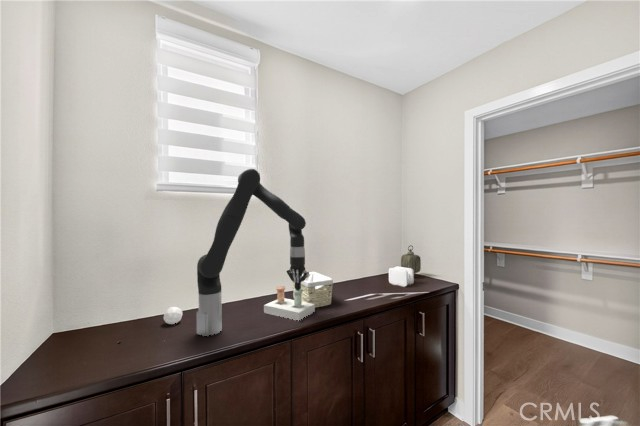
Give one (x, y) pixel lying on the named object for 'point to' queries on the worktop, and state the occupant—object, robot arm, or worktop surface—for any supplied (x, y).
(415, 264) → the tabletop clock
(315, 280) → the storage basket
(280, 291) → the terracotta plunger
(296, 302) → the sage plunger
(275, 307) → the panel
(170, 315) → the geometric ball
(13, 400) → the worktop surface
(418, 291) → the worktop surface
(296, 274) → the robot arm
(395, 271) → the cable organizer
